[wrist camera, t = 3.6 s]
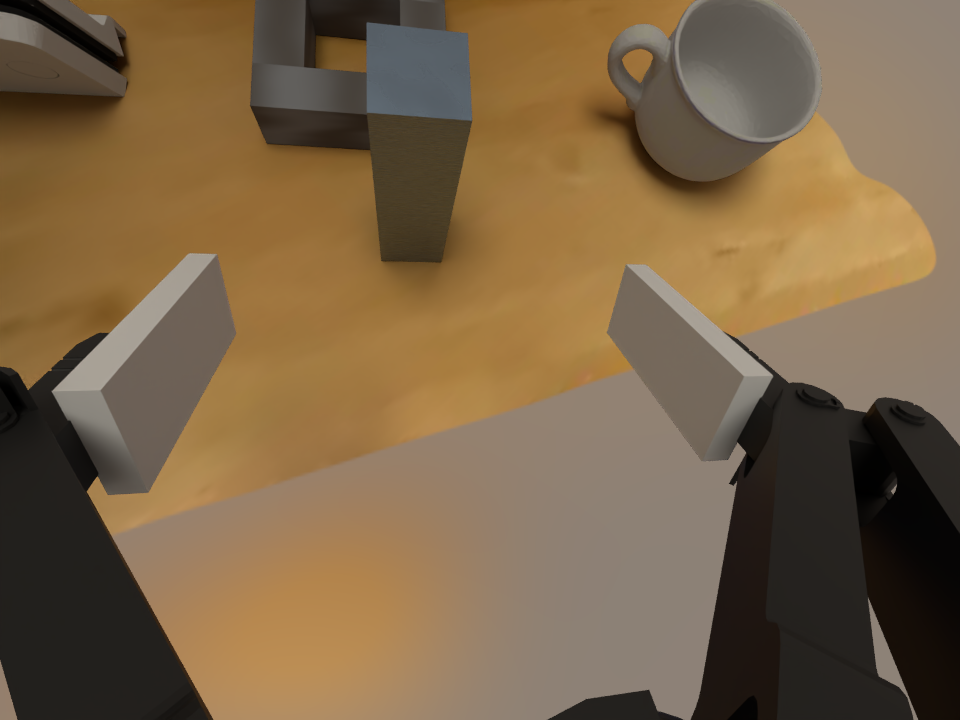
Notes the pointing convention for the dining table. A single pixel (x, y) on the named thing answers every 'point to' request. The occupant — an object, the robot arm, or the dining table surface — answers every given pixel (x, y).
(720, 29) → the teacup
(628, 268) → the robot arm
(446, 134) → the grey square prism block
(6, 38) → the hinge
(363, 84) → the brown grey rectangular blocks
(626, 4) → the dining table surface
